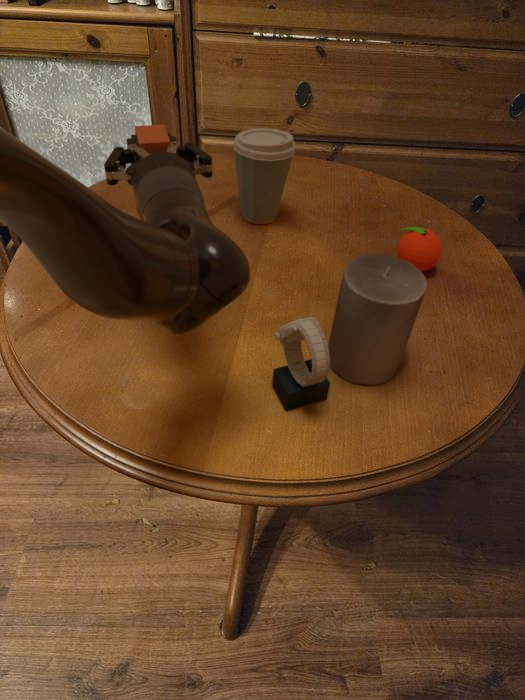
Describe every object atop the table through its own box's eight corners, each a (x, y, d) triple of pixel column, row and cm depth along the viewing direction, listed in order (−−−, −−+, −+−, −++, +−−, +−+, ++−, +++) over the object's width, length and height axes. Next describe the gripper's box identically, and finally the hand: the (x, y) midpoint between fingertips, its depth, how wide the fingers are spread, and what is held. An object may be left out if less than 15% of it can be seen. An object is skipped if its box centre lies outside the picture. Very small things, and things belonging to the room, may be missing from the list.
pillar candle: (357, 326, 71) (380, 234, 61) (413, 364, 66) (448, 272, 56) (310, 355, 67) (326, 262, 56) (366, 399, 62) (395, 305, 51)
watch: (304, 364, 65) (315, 299, 58) (333, 410, 60) (349, 344, 52) (265, 375, 64) (271, 309, 56) (291, 422, 58) (301, 357, 51)
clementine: (379, 266, 82) (389, 229, 77) (397, 249, 87) (407, 212, 82) (424, 285, 79) (438, 247, 74) (440, 266, 83) (454, 229, 78)
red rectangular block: (176, 211, 71) (170, 141, 64) (147, 214, 70) (139, 143, 63) (170, 192, 75) (164, 124, 68) (143, 194, 74) (134, 126, 67)
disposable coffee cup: (219, 212, 92) (219, 130, 82) (263, 196, 98) (268, 117, 87) (256, 237, 87) (261, 152, 76) (300, 218, 92) (310, 137, 82)
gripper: (229, 162, 56) (200, 109, 68) (99, 172, 53) (92, 114, 65) (228, 221, 62) (202, 163, 73) (111, 233, 58) (102, 170, 70)
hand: (150, 140), depth 69 cm, fingers closed on red rectangular block, 4 cm apart
